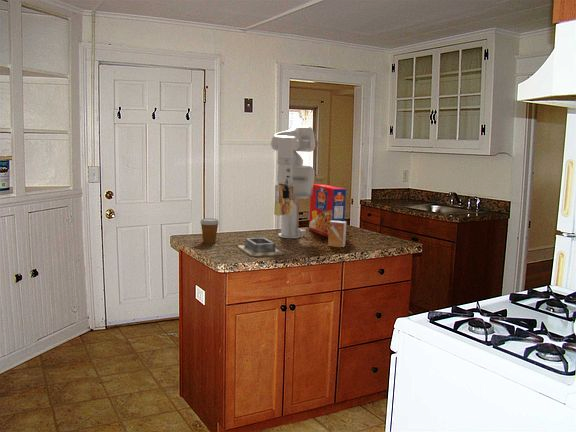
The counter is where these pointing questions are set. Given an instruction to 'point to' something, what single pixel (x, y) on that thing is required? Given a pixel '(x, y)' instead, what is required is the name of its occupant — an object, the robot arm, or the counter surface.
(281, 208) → the candy box
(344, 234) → the small box
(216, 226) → the disposable coffee cup
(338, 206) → the pasta box
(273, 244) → the slot stand
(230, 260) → the counter surface
